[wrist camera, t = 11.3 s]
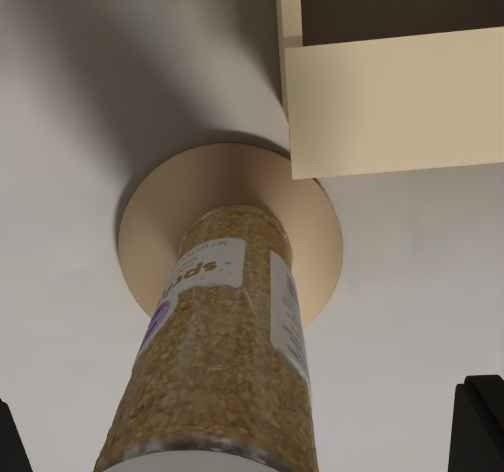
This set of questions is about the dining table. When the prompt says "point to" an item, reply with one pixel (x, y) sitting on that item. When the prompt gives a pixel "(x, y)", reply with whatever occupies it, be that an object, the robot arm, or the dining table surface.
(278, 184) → the coaster
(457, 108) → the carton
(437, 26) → the dining table surface
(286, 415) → the sprinkles bottle
